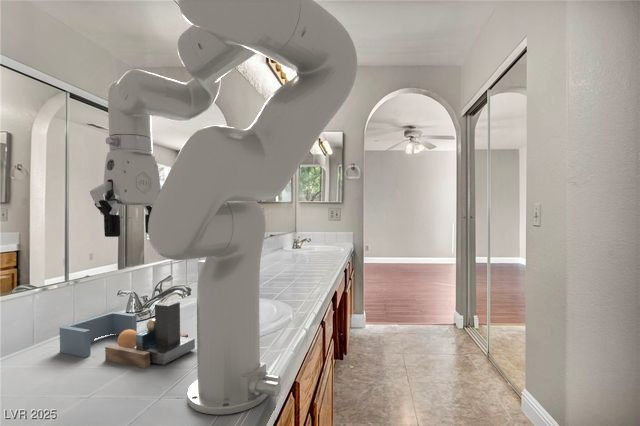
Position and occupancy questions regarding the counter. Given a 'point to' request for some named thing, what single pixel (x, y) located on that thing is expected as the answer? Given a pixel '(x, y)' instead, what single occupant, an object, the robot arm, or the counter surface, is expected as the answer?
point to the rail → (129, 355)
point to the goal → (94, 331)
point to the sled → (164, 335)
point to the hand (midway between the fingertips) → (133, 234)
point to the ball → (127, 339)
